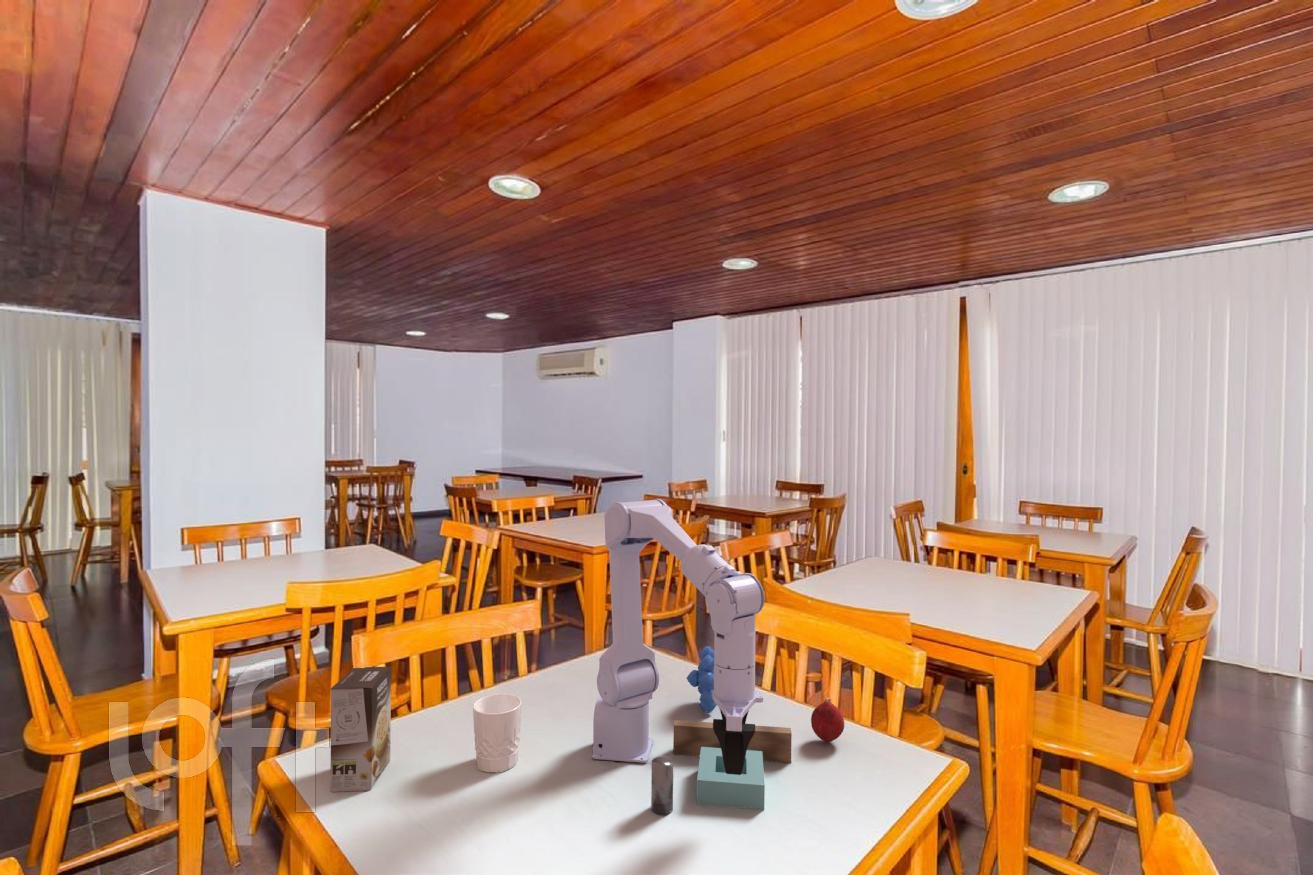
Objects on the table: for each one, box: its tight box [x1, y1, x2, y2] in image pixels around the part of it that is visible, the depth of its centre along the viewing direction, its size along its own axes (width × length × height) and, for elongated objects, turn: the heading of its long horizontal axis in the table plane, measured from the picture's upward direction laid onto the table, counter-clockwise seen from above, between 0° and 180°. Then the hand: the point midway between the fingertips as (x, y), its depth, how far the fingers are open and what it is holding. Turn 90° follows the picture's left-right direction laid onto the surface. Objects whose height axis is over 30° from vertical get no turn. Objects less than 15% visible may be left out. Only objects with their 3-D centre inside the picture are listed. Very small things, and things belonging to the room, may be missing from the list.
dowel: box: [650, 756, 674, 817], centre depth 94 cm, size 3×3×7 cm
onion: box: [810, 697, 845, 744], centre depth 114 cm, size 6×6×8 cm
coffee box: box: [329, 666, 392, 793], centre depth 102 cm, size 9×6×16 cm
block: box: [696, 747, 766, 811], centre depth 100 cm, size 10×10×4 cm
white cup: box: [472, 693, 522, 773], centre depth 107 cm, size 8×8×10 cm
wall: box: [672, 719, 793, 764], centre depth 110 cm, size 20×2×5 cm, turn 82°
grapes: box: [686, 645, 717, 714], centre depth 128 cm, size 12×7×12 cm, turn 178°
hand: (733, 758), depth 89 cm, fingers open, 7 cm apart
